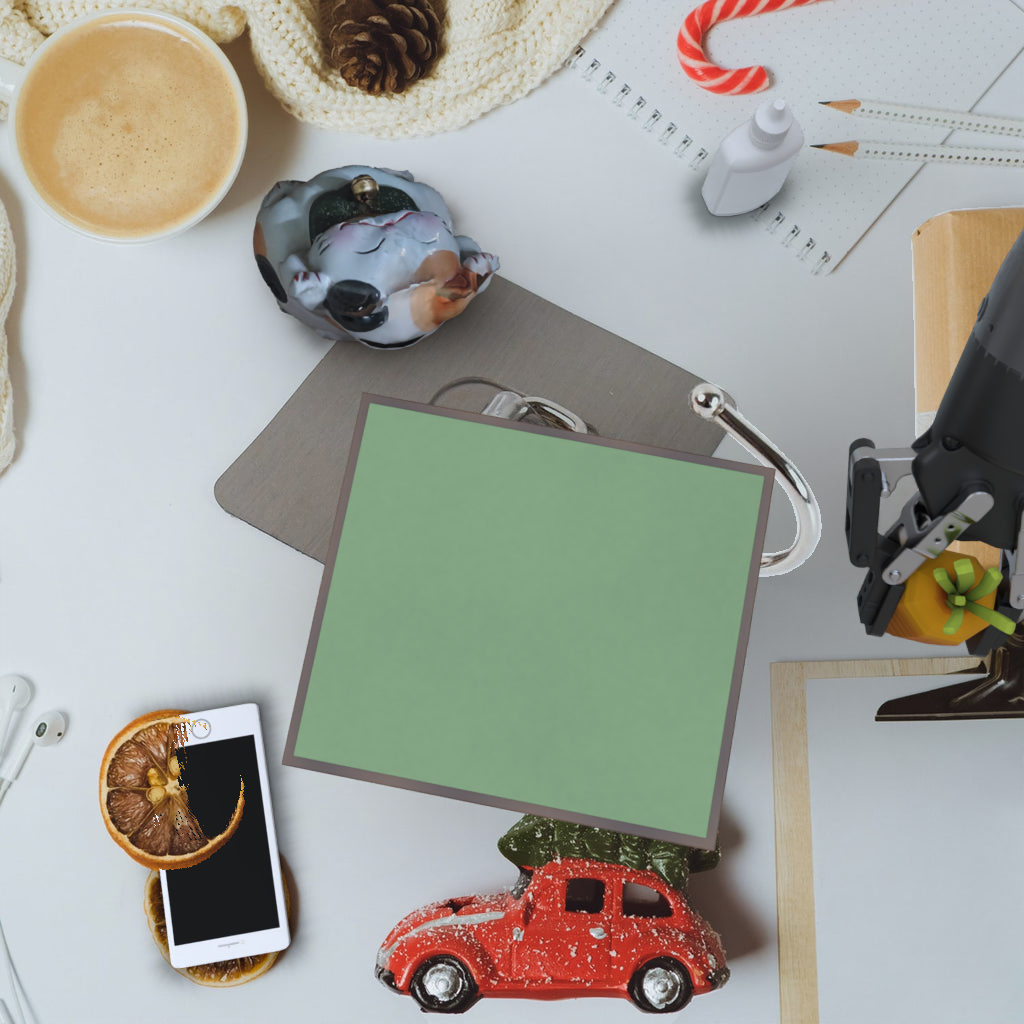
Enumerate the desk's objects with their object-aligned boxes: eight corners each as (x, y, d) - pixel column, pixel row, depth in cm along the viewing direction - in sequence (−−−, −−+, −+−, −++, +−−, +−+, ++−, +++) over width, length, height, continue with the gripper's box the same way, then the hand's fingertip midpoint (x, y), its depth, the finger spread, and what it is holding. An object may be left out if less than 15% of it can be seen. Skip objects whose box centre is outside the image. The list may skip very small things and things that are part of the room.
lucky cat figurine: (453, 166, 76) (513, 149, 63) (461, 332, 79) (520, 349, 66) (242, 170, 71) (260, 153, 59) (259, 346, 74) (281, 367, 62)
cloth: (762, 477, 44) (765, 476, 44) (704, 836, 42) (706, 838, 42) (371, 404, 45) (369, 402, 44) (295, 754, 43) (293, 755, 42)
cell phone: (258, 701, 71) (256, 701, 70) (292, 946, 68) (289, 949, 68) (145, 721, 70) (141, 721, 70) (174, 967, 68) (171, 970, 68)
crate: (679, 542, 72) (776, 468, 44) (639, 775, 70) (715, 851, 42) (424, 494, 73) (362, 391, 45) (377, 723, 70) (280, 764, 43)
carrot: (930, 640, 61) (1055, 635, 47) (847, 654, 61) (945, 653, 47) (912, 558, 62) (1029, 527, 47) (830, 571, 62) (921, 545, 47)
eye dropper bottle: (775, 225, 75) (821, 143, 63) (697, 215, 75) (729, 131, 63) (781, 168, 76) (829, 77, 64) (704, 158, 76) (737, 65, 64)
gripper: (911, 357, 41) (789, 659, 51) (1279, 423, 40) (1081, 716, 51) (886, 279, 47) (781, 564, 57) (1206, 335, 46) (1042, 614, 57)
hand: (922, 634), depth 54 cm, fingers closed on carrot, 4 cm apart
